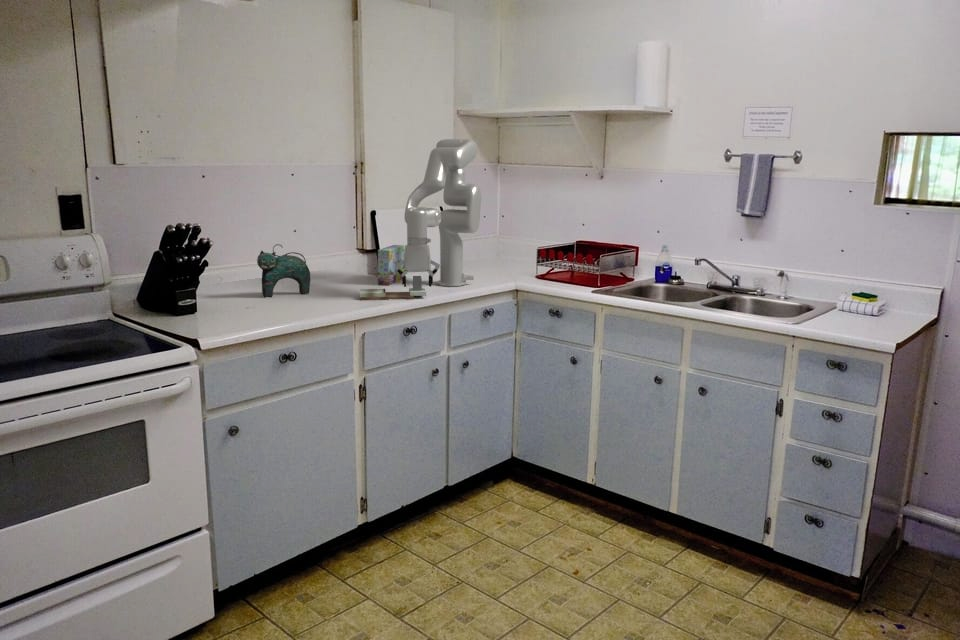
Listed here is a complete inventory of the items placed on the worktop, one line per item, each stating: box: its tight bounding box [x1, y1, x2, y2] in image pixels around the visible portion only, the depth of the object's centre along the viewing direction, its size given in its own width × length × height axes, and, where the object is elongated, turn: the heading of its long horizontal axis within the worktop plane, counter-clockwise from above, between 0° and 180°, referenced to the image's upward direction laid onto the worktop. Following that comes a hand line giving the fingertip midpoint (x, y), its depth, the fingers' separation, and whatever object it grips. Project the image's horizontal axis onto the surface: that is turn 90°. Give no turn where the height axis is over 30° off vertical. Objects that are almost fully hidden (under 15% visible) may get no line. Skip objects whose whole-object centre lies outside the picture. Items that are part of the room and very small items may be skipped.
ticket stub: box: [408, 275, 427, 297], centre depth 281 cm, size 6×9×6 cm, turn 8°
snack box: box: [377, 244, 405, 286], centre depth 315 cm, size 21×6×15 cm, turn 168°
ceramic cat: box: [256, 243, 311, 298], centre depth 280 cm, size 20×6×20 cm, turn 121°
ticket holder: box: [359, 288, 414, 301], centre depth 280 cm, size 20×11×3 cm, turn 98°
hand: (417, 286), depth 281 cm, fingers open, 9 cm apart
